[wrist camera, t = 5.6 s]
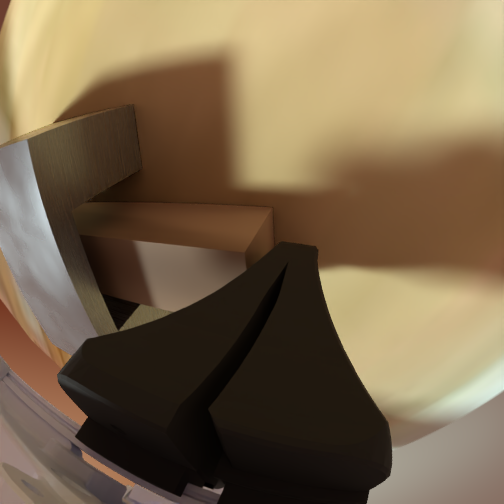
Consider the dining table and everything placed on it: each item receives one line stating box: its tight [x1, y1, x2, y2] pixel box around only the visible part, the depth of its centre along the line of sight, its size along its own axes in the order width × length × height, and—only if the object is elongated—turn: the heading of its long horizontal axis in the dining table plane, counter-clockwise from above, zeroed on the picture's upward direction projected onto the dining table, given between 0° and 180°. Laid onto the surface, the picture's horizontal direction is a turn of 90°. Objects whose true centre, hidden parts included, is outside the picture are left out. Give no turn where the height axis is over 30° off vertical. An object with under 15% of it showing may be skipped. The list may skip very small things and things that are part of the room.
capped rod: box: [72, 202, 275, 312], centre depth 12 cm, size 3×14×3 cm, turn 95°
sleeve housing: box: [0, 104, 173, 356], centre depth 12 cm, size 11×6×5 cm, turn 2°
